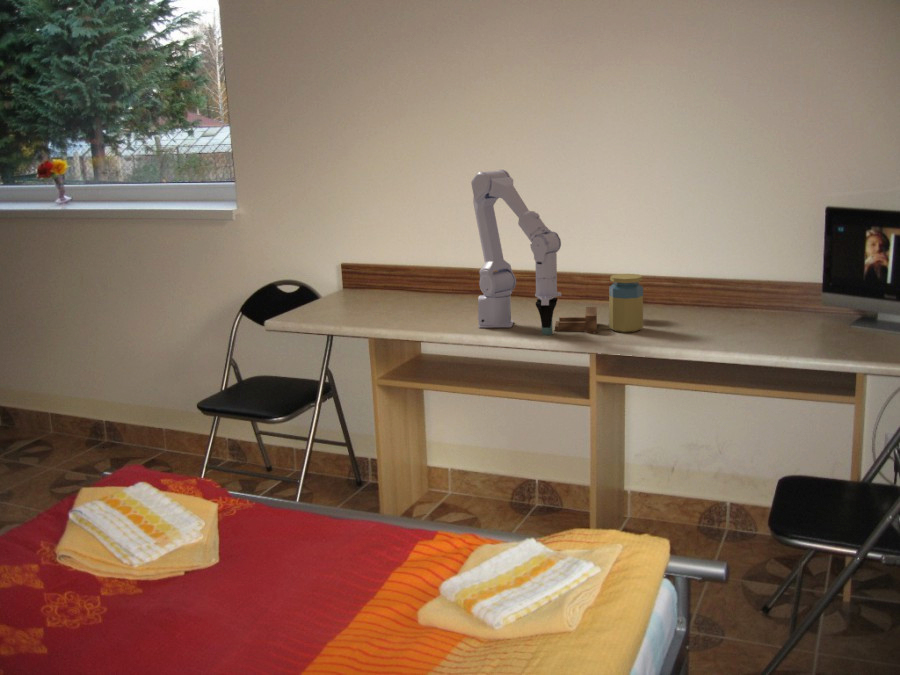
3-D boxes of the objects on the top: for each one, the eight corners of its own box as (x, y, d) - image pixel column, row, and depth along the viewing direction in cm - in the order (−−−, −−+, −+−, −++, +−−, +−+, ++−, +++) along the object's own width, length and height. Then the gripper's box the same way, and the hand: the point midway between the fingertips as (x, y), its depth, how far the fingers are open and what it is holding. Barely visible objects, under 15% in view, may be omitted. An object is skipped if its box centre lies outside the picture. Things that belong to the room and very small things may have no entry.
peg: (541, 335, 256) (540, 304, 254) (541, 332, 259) (541, 302, 257) (552, 335, 256) (551, 304, 254) (552, 332, 258) (552, 302, 256)
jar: (641, 333, 253) (642, 279, 250) (607, 333, 255) (607, 279, 252) (643, 326, 262) (644, 273, 258) (611, 325, 264) (611, 273, 261)
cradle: (554, 332, 258) (554, 316, 257) (556, 323, 269) (556, 307, 268) (596, 332, 256) (596, 315, 255) (596, 323, 268) (596, 306, 266)
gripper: (559, 281, 246) (560, 331, 249) (562, 272, 260) (562, 320, 263) (533, 282, 247) (534, 332, 250) (536, 272, 261) (537, 320, 264)
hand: (546, 326), depth 257 cm, fingers closed on peg, 3 cm apart
